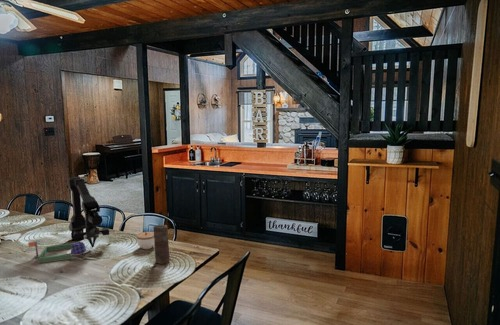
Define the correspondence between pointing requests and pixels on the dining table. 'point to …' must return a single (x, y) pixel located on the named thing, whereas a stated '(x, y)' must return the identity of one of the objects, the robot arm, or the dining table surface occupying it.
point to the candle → (161, 244)
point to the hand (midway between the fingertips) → (92, 247)
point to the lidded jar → (145, 240)
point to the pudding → (78, 248)
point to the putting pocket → (50, 248)
